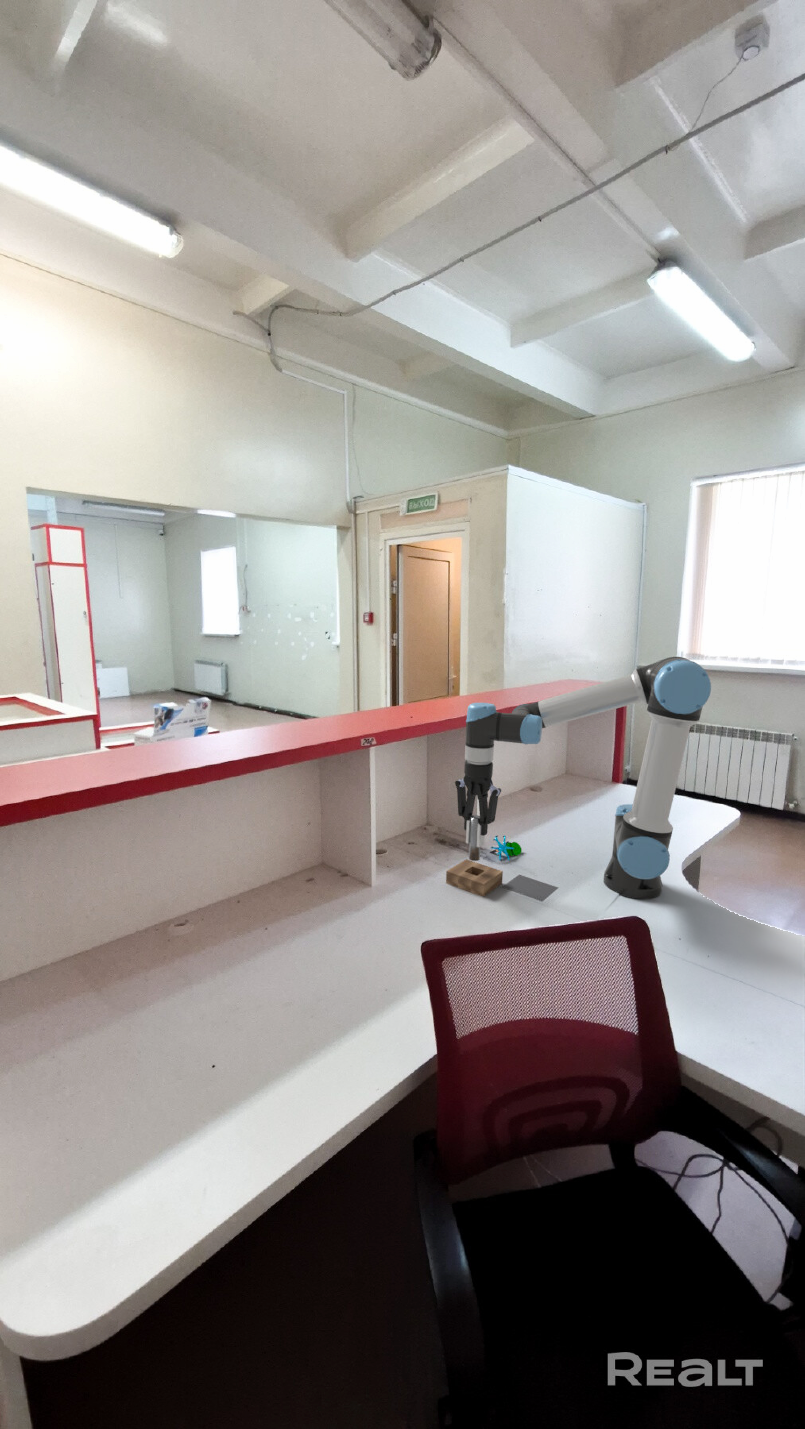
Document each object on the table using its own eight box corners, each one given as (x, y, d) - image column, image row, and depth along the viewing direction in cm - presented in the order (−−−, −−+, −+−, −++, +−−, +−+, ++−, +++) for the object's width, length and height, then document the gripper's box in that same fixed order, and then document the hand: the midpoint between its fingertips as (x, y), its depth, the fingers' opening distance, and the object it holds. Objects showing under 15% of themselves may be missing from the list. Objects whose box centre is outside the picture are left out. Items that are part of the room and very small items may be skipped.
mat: (558, 888, 161) (558, 887, 160) (542, 902, 153) (542, 901, 153) (519, 875, 168) (519, 874, 168) (501, 888, 160) (501, 887, 160)
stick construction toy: (498, 858, 174) (493, 833, 178) (482, 864, 179) (478, 839, 183) (526, 860, 181) (521, 836, 184) (510, 866, 186) (506, 842, 189)
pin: (481, 858, 161) (483, 817, 159) (476, 861, 159) (478, 820, 157) (472, 855, 163) (474, 814, 161) (466, 858, 161) (468, 817, 159)
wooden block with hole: (502, 884, 162) (502, 871, 162) (483, 898, 155) (483, 884, 154) (465, 872, 170) (466, 859, 169) (446, 884, 162) (446, 870, 162)
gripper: (512, 763, 154) (507, 847, 158) (461, 753, 164) (458, 832, 168) (497, 769, 148) (493, 856, 152) (446, 758, 158) (443, 840, 162)
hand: (474, 843), depth 160 cm, fingers closed on pin, 3 cm apart
